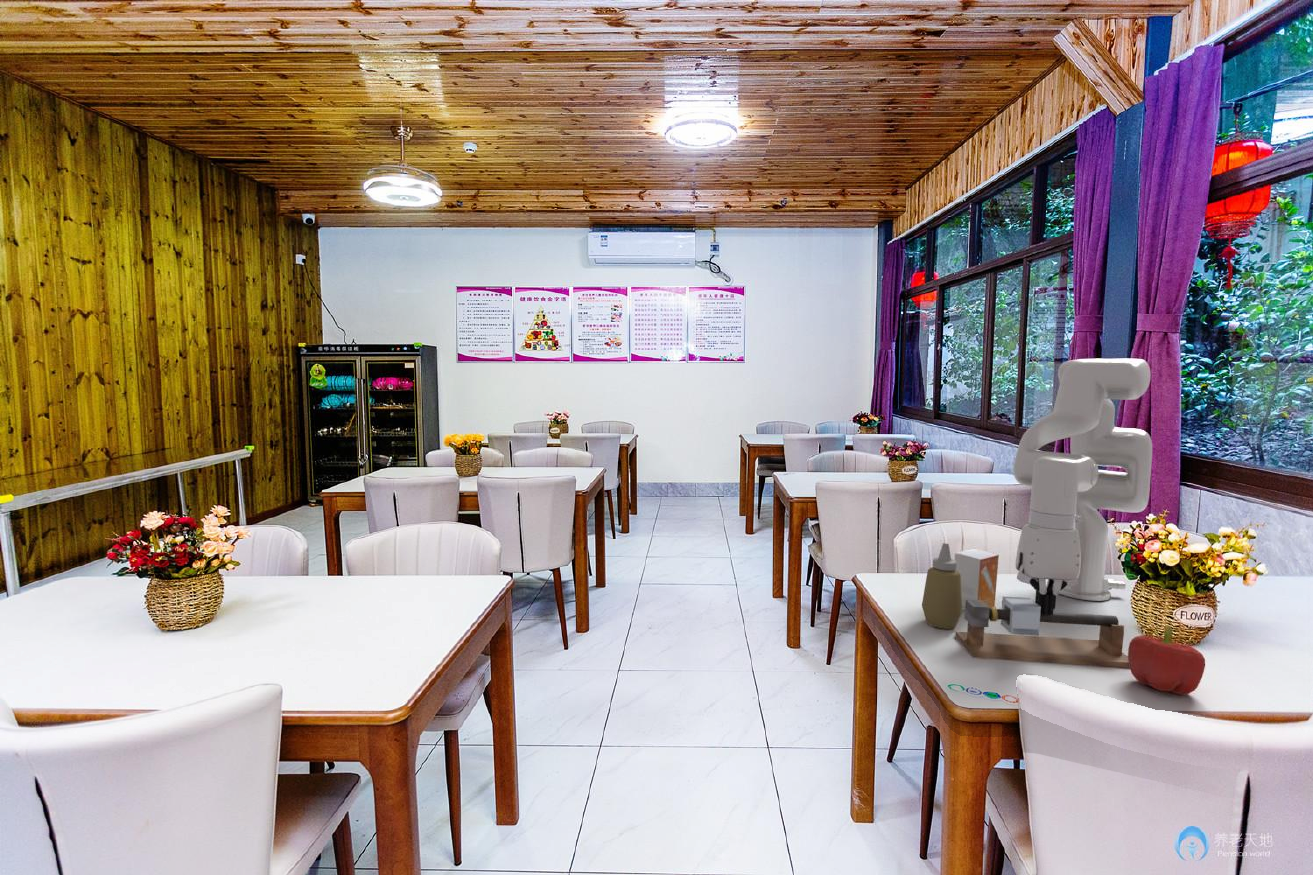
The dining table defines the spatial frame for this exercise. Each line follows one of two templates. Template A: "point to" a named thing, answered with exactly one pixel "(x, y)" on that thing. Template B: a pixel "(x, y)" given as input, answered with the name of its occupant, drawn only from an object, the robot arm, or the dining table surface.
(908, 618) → the dining table surface
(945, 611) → the squeeze bottle
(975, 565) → the small box
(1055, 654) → the rod stand
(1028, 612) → the sleeve
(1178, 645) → the vegetable
